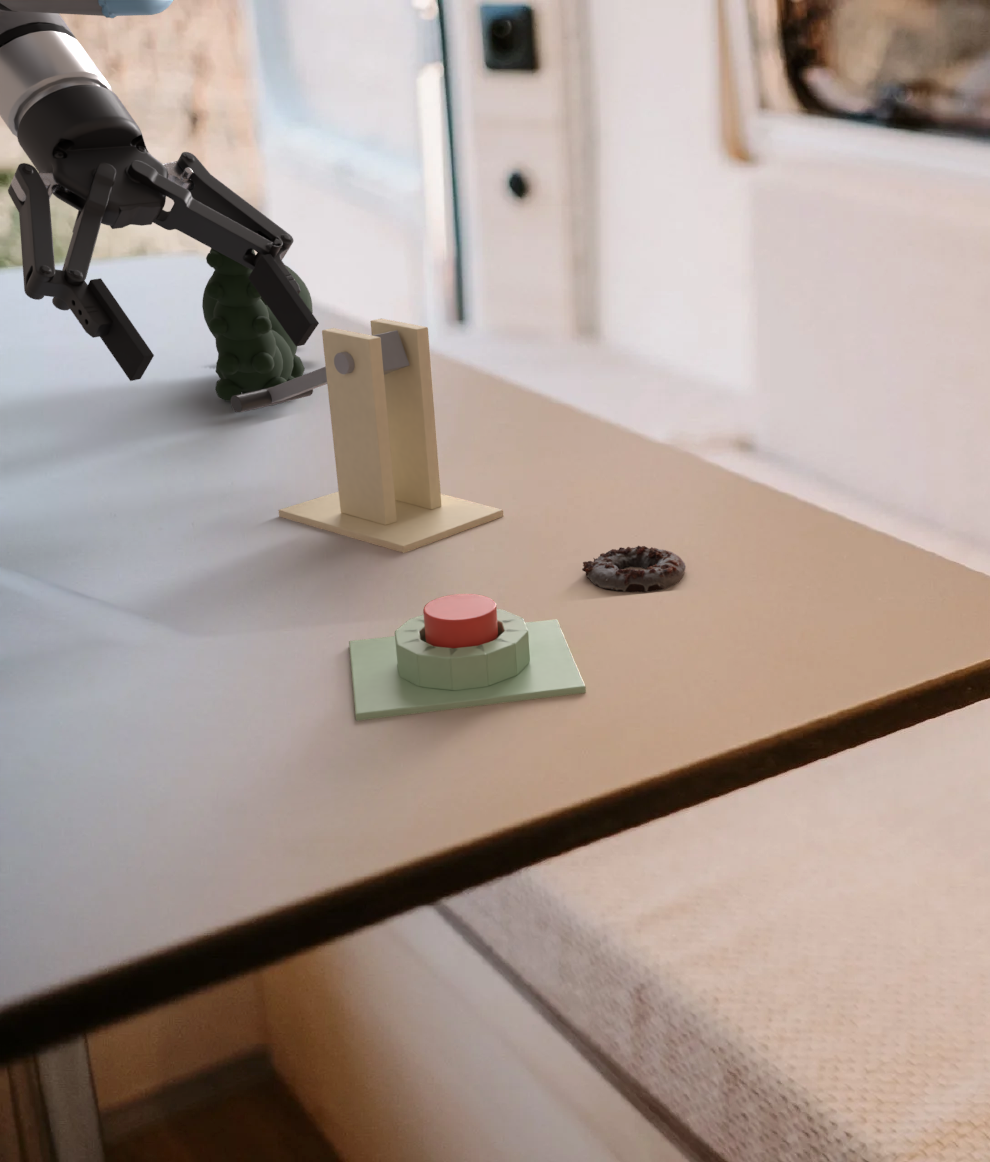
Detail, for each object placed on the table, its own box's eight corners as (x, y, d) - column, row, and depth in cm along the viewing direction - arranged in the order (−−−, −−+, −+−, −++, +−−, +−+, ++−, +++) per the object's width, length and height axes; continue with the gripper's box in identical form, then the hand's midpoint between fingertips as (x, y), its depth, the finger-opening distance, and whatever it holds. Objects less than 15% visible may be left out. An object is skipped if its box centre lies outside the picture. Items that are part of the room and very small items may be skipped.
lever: (237, 422, 101) (224, 389, 101) (308, 405, 106) (296, 373, 105) (361, 376, 93) (347, 340, 93) (431, 360, 98) (419, 325, 97)
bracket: (280, 527, 100) (255, 327, 95) (383, 494, 107) (365, 306, 102) (404, 564, 94) (386, 353, 89) (504, 527, 101) (492, 329, 96)
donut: (624, 555, 97) (623, 526, 96) (725, 577, 94) (725, 547, 93) (547, 597, 90) (545, 566, 89) (654, 621, 87) (653, 589, 86)
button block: (359, 754, 71) (351, 679, 69) (352, 677, 78) (345, 609, 77) (587, 725, 74) (584, 653, 73) (559, 654, 82) (555, 588, 81)
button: (428, 655, 73) (426, 623, 72) (423, 628, 76) (420, 597, 75) (502, 647, 74) (500, 615, 73) (493, 620, 77) (491, 590, 77)
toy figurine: (313, 437, 125) (321, 347, 147) (288, 216, 117) (300, 154, 138) (194, 442, 123) (220, 350, 144) (159, 216, 114) (192, 154, 135)
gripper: (199, 141, 118) (346, 351, 116) (-130, 162, 97) (44, 417, 96) (234, 75, 113) (388, 293, 112) (-103, 83, 93) (80, 349, 92)
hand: (229, 351), depth 104 cm, fingers open, 13 cm apart
